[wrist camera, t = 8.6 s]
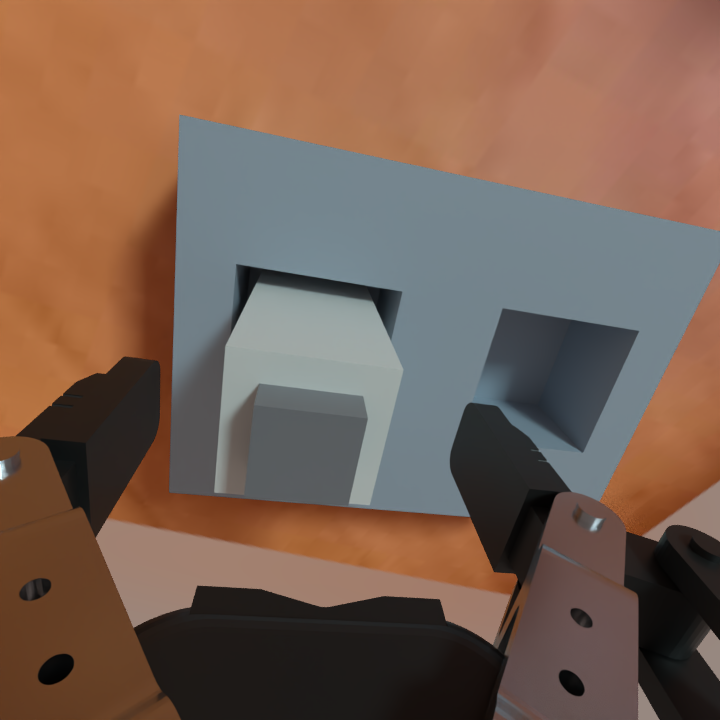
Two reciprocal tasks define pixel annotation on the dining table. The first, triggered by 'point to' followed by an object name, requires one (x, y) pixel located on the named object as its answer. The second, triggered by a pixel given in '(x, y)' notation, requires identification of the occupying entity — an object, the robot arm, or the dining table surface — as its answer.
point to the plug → (306, 393)
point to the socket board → (433, 301)
